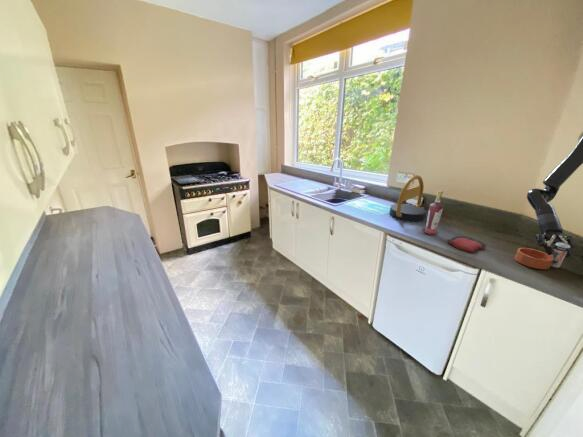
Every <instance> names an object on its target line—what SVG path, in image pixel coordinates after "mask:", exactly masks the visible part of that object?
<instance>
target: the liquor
mask: <svg viewBox="0 0 583 437" xmlns="http://www.w3.org/2000/svg"><path fill="white" fill-rule="evenodd" d="M443 192H444V191H443V190H440V189H439V190H437V192H436V197H435V200H434V202H432V203H430V204H429V208H428V211H427V218H426V222H425V223H426V224H425V227H424V228H425V229H424V230H423V231H424V233H425V234H426V233H427V234H426V235H429V234H431V235H430V236H434V235H436V234H437V229H438V226H439V222H440V220H441V216H442V213H443V210H444V207H445V206H444V205H443V204H442V203H441V200H442V195H443Z"/></svg>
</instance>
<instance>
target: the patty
mask: <svg viewBox="0 0 583 437" xmlns="http://www.w3.org/2000/svg"><path fill="white" fill-rule="evenodd" d="M447 243H448V245H450V244H451V245H450V246H452V245H453V246H452V247H454V248H455V247H456V248H455V249H457V248H458V249H457V250H459V249H461V250H460V251H463V250H464V251H463V252H466V253H468V252H469V253H468V254H475V253H476V252H477V251H479V250H483V249H484V245H483V244H482V243H480V242H477V241H475V240H473V239H470V238H467V237H457V238H454V239H453V240H449V241H448V242H447Z"/></svg>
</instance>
